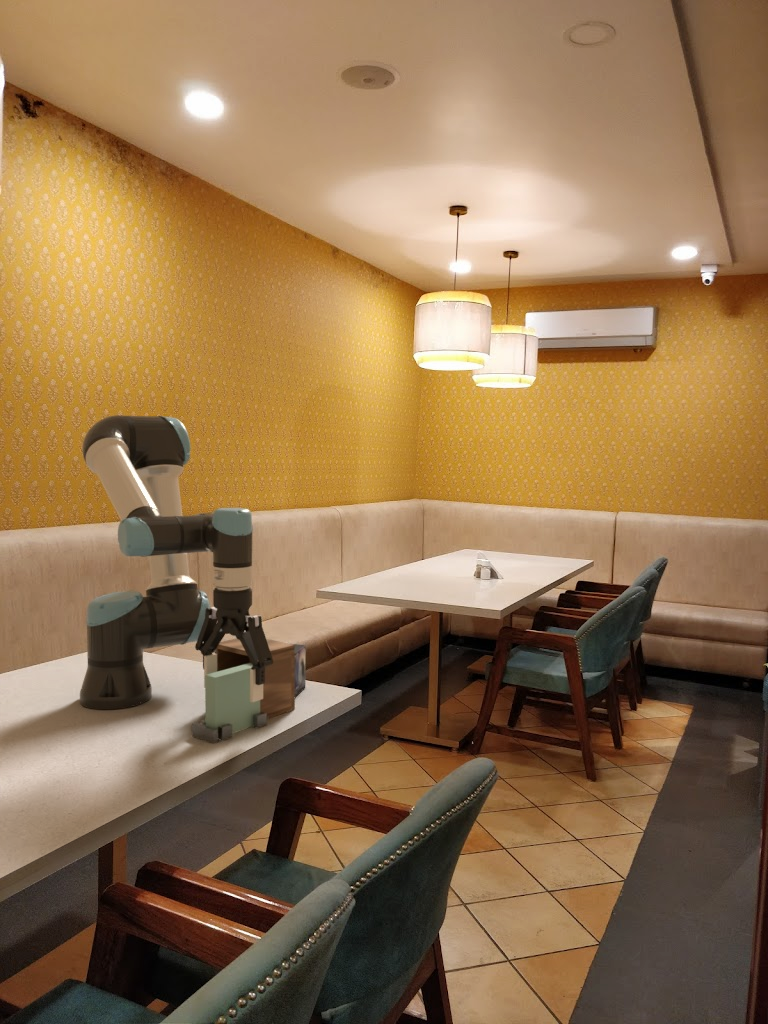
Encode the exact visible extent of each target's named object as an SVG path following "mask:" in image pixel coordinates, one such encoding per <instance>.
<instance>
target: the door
mask: <svg viewBox="0 0 768 1024" xmlns="http://www.w3.org/2000/svg"><path fill="white" fill-rule="evenodd" d="M252 667H253V665H252V663H248V664H244V665H240V666H237V667H233V668H229V669H225V670H222V671H218V672H214V673H210V674H207V675H205V690H204V695H205V697H204V698H205V701H204V702H205V707H204V708H205V709H204V710H205V719H206V726H209V727H212V728H215V729H218V727H219V726H222V725H225V724H228V723H229V724H232V734H235V733H237V732H240V731H243V730H246V729H248V728H251V727H252V728H253V715H254V714H257V713H260V700H258V701H255V702H250V668H252Z"/></svg>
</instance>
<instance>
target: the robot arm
mask: <svg viewBox="0 0 768 1024" xmlns="http://www.w3.org/2000/svg"><path fill="white" fill-rule="evenodd" d="M81 451H82V456H83V460H84V462H85V464H86V466H87V467H88V470H89V471H91V472H92V473H93V474H95V475H97V478H98V479H99V481H100V483H101V484H102V486H103V488H104V491H105V492H106V494H107V496H108V499H109V501H110V502H111V505H112V506H113V508H114V510H115V512H116V513H117V516H118V517H119V519H120V522H119V523H118V527H117V542H118V547H119V550H120V552H121V553H122V555H124V556H126V557H141V558H145V557H146V558H147V557H148V560H149V567H150V568H149V570H150V576H151V577H150V578H151V582H150V584H149V585H148V586H147V587H146V588H145V593H146V596H143V594H142V593H141V592H140V591H139V590H126V591H116V592H111V593H106V594H104V595H100V596H97V597H95V598H94V599H92V600H91V601H89V603H88V604H87V608H86V620H85V625H86V649H87V650H86V651H87V668H86V672H85V675H84V677H83V678H84V679H83V680H82V684H81V688H80V691H79V703H80V705H81V706H83V707H85V708H88V709H96V710H118V709H125V708H130V707H135V706H139V705H141V704H144V703H146V702H148V701H150V700H151V698H152V697H153V694H152V693H153V691H152V690H153V689H152V684H151V682H150V681H151V680H150V678H149V676H148V673H147V670H146V667H145V665H144V650H147V649H154V648H162V647H170V646H176V645H186V644H189V643H194V642H196V643H195V646H194V648H195V650H196V651H200V653H201V655H202V669H203V671H204V672H203V673H204V674H203V679H204V681H203V683H204V685H203V687H204V688H205V675H207V674H210V673H214V672H217V654H215V652H216V650H215V649H216V648H217V646H218V645H219V643H220V642H222V640H223V639H224V637H225V636H226V635H227V634H229V635H230V636H232V637H233V636H234V637H235V639H236V638H237V639H239V640H240V642H241V643H242V645H243V647H244V649H245V651H246V653H247V655H248V657H249V659H250V661H251V663H252V665H253V667H252V668H250V702H255V701H258V700H261V699H263V684H264V683H265V667H266V666H269V665H272V664H273V658H272V655H271V652H270V649H269V646H268V643H267V640H266V639H267V637H266V634H265V632H264V628H263V622H262V621H263V620H262V619H263V618H262V616H261V614H257V615H256V614H255V615H250V611H249V610H250V608H251V607H252V606H253V588H252V587H251V586H252V585H253V531H254V527H253V526H254V525H253V519H252V511H251V510H250V509H248V508H245V507H243V508H241V507H220V508H216V509H215V510H214V511H213V513H211V512H209V513H207V512H205V513H203V512H202V513H198V514H195V515H194V514H193V515H192V514H191V515H183V507H182V498H181V492H180V491H181V490H180V481H179V477H180V476H181V475H182V473H183V472H184V471H185V469H184V466H186V465H187V464H188V463H189V461H190V458H191V442H190V436H189V433H188V431H187V428H186V426H185V425H184V424H183V422H182V421H181V420H179V419H178V418H176V417H169V416H163V415H158V416H154V415H153V416H151V415H146V416H145V415H123V414H121V415H119V414H115V415H110V416H107V417H104V418H103V419H100V420H98V421H97V422H95V423H94V424H93V425H92V426H91V427H90V428H89V430H87V433H86V434H85V436H84V438H83V442H82V450H81ZM207 552H209V553H212V559H213V560H212V561H213V562H212V566H213V574H212V575H213V578H212V579H213V582H212V583H213V586H214V587H215V588H214V589H213V594H212V595H213V597H212V601H213V602H212V603H213V606H211V605H210V600H209V598H208V595H207V593H206V592H205V591H203V590H199V588H198V582H197V581H196V580H195V579H193V578H192V577H191V576H190V568H189V559H188V554H189V553H190V554H192V553H207ZM265 659H266V660H265ZM257 660H259V662H258V661H257Z"/></svg>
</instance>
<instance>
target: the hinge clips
mask: <svg viewBox="0 0 768 1024" xmlns="http://www.w3.org/2000/svg"><path fill="white" fill-rule="evenodd" d="M267 720H268V719H267V713H265V712H260V713H257V714H254V715H253V726H252V728H255V729H260V728H262V727H263V728H264V727H266V726H267V722H268V721H267ZM191 735H192V737H193V738H196V739H198V740H202V741H203V742H207V743H210V744H213V745H215V744H217V743H219V741H221V742H223V741H226V740H228V739H232V738H233V733H232V724H229V723H228V724H225V725H222V726H219V727H218V729H215V728H212V727H209V726H206V718H205V719H202V720H200V722H193V723H192V724H191Z"/></svg>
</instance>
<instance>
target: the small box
mask: <svg viewBox="0 0 768 1024" xmlns="http://www.w3.org/2000/svg"><path fill="white" fill-rule="evenodd" d="M292 644H293V645H295V698H296V697H297V696H298V695H299V694H300V693H301V692H302V691H303V690H305V689H306V664H307V663H306V658H307V657H306V653H307V652H306V651H307V650H306V649H307V648H306V647H307V645H306V644H297V643H296V644H295V643H292Z"/></svg>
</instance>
